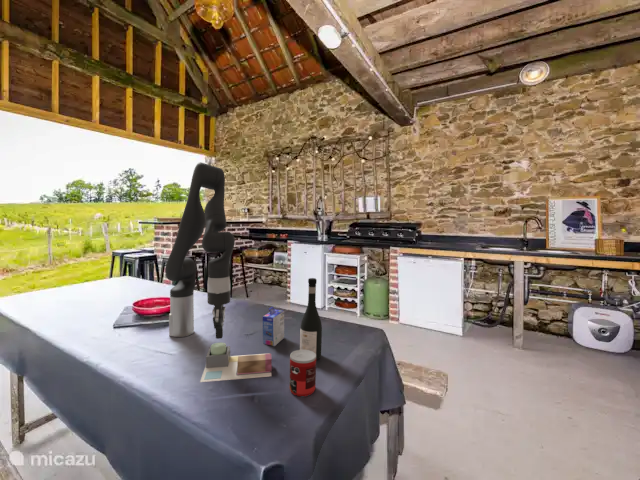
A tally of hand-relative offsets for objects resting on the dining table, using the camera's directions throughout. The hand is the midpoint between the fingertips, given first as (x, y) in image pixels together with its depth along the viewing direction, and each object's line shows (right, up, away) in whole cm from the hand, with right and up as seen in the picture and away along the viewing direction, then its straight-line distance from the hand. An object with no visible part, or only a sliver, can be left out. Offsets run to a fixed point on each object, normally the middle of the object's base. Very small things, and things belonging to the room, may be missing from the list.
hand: (219, 337), depth 103 cm
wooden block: (+13, -10, -4) cm, 17 cm away
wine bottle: (+32, -10, +7) cm, 34 cm away
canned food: (+30, -12, -13) cm, 35 cm away
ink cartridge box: (+16, -9, +20) cm, 27 cm away
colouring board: (+7, -10, -2) cm, 12 cm away
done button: (0, -7, 0) cm, 7 cm away
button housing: (0, -9, +1) cm, 9 cm away
